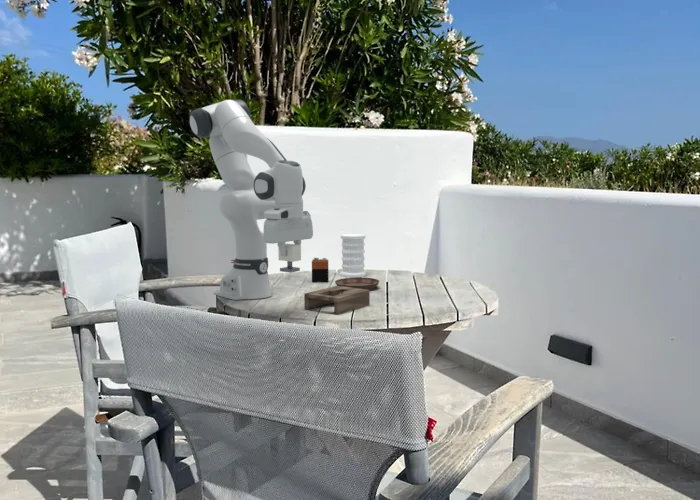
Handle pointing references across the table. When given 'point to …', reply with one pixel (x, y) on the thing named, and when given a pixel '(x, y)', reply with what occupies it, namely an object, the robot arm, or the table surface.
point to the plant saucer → (358, 283)
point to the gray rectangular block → (291, 257)
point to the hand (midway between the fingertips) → (289, 255)
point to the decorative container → (353, 255)
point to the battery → (319, 270)
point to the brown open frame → (338, 298)
